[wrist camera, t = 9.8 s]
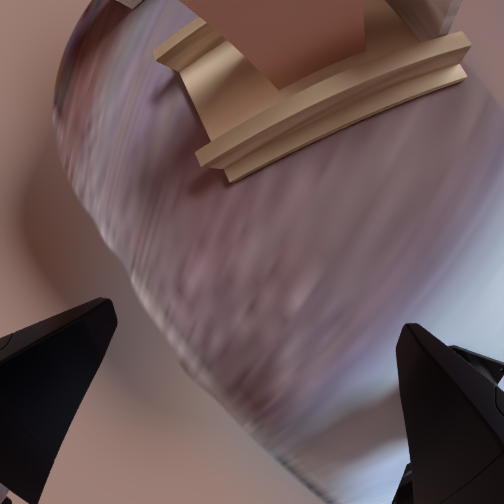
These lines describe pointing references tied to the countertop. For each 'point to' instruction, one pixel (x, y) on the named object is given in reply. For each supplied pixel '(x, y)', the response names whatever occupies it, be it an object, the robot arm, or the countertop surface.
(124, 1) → the light bulb box
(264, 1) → the salmon pink rectangular block
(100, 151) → the countertop surface
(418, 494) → the robot arm
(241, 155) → the book trough
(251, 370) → the countertop surface
